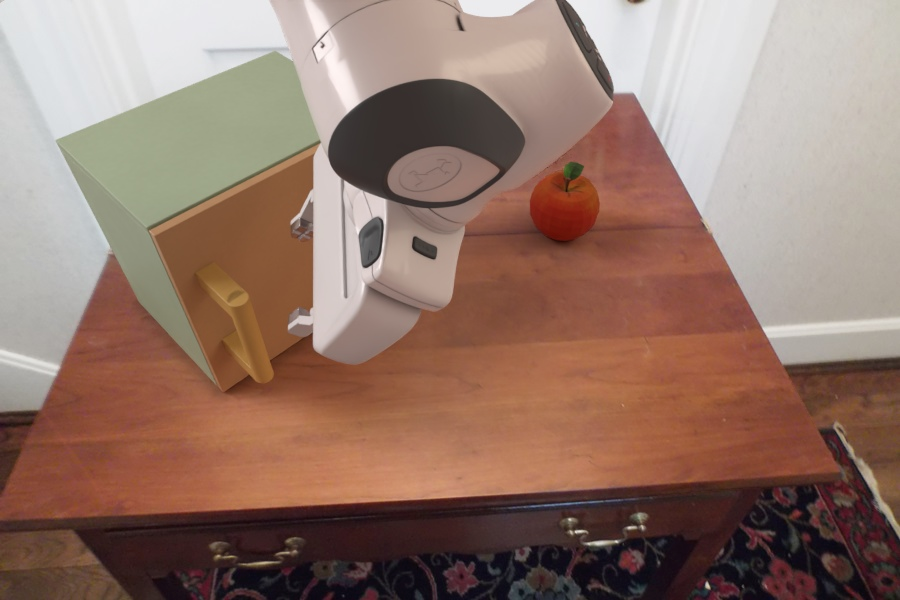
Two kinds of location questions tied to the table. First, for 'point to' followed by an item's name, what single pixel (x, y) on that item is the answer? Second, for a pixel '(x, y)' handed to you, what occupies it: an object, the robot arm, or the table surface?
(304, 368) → the table surface
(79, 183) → the cupboard
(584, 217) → the fruit
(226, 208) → the cupboard door
